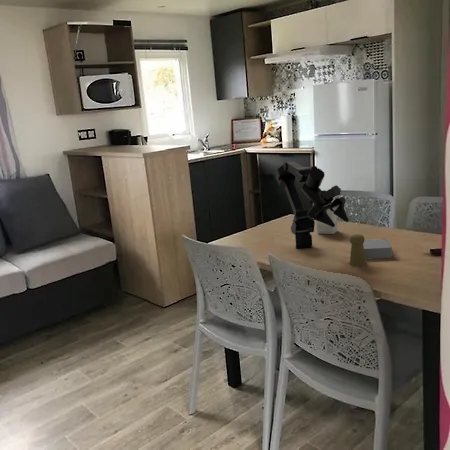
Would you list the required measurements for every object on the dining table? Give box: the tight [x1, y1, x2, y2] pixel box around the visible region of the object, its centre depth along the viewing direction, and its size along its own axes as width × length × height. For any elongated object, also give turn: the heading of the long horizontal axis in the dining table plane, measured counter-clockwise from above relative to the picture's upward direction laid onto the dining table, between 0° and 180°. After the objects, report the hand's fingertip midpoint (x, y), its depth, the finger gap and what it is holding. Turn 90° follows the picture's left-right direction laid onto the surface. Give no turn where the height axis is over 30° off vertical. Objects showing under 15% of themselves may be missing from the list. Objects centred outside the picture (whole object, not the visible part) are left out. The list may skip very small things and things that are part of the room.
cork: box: [349, 233, 367, 267], centre depth 182 cm, size 6×6×11 cm
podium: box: [363, 238, 393, 260], centre depth 193 cm, size 12×12×4 cm
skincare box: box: [315, 198, 339, 235], centre depth 228 cm, size 8×7×16 cm
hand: (341, 223), depth 187 cm, fingers open, 9 cm apart
